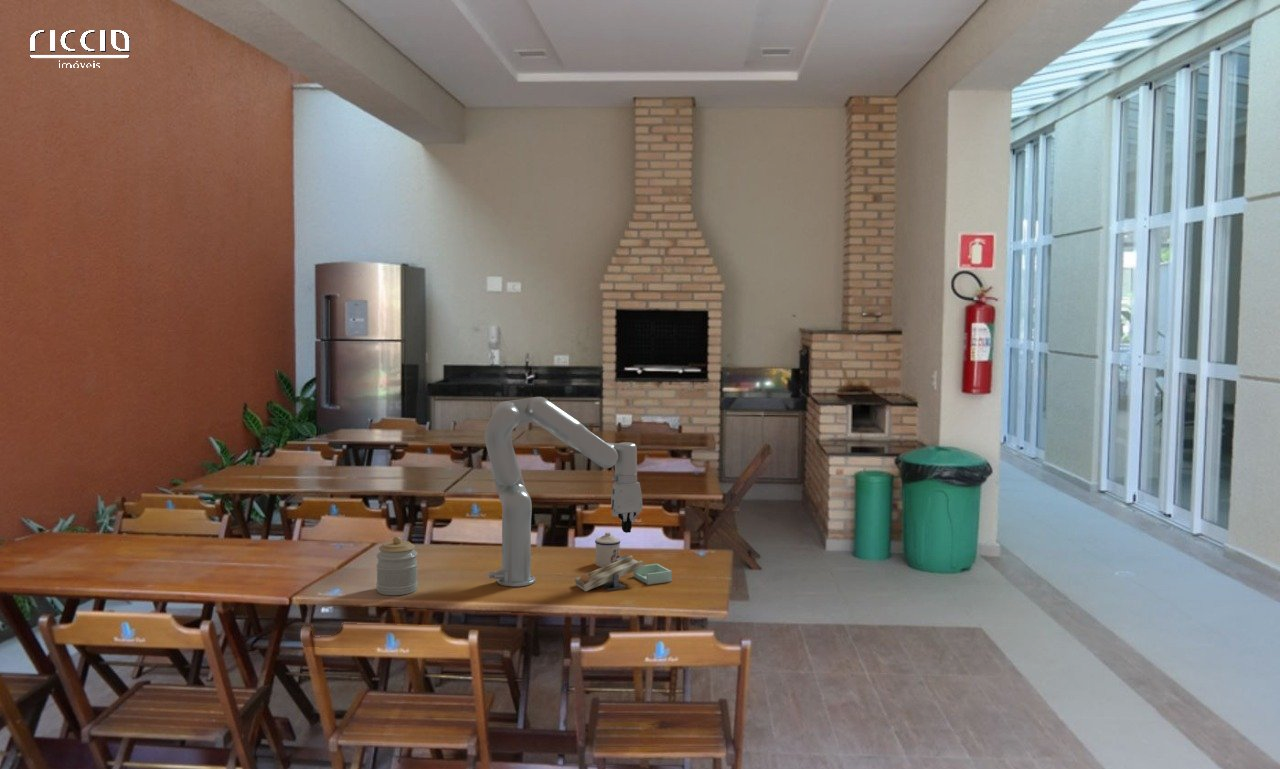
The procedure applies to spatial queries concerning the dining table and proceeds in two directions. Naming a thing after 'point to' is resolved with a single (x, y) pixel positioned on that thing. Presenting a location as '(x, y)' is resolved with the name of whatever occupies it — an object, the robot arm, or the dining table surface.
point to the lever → (610, 572)
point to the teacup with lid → (607, 549)
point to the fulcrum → (614, 584)
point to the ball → (585, 578)
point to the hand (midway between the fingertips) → (626, 531)
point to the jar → (397, 568)
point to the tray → (653, 574)
